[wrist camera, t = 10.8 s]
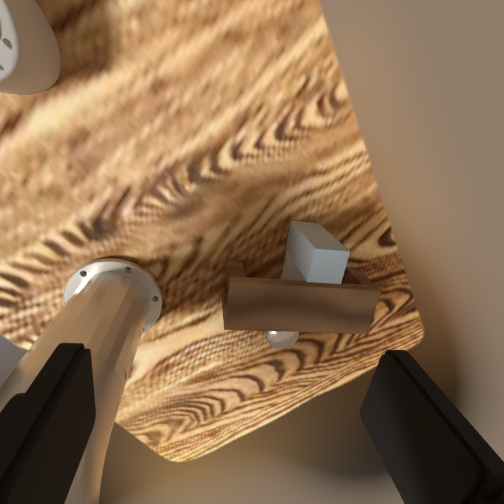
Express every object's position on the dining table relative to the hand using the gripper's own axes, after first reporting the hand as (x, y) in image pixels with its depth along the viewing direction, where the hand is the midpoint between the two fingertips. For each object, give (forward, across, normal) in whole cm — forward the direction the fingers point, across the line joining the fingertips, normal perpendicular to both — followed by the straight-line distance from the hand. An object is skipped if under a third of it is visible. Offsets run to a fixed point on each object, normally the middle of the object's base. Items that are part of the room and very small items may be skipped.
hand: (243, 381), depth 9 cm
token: (+31, -12, +22) cm, 39 cm away
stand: (+30, -12, +13) cm, 35 cm away
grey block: (+30, -12, +11) cm, 34 cm away
